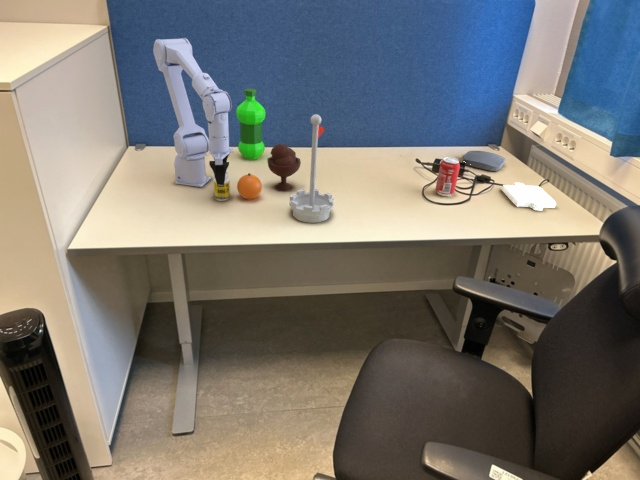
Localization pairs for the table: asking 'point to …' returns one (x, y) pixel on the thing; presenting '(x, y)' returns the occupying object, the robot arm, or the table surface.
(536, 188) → the mounting plate
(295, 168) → the ice cream bowl
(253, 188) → the orange
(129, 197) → the table surface
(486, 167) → the media streaming box
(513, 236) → the table surface
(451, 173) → the beverage can
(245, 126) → the plastic bottle
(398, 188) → the table surface
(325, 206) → the flag stand
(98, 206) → the table surface
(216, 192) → the supplement bottle
